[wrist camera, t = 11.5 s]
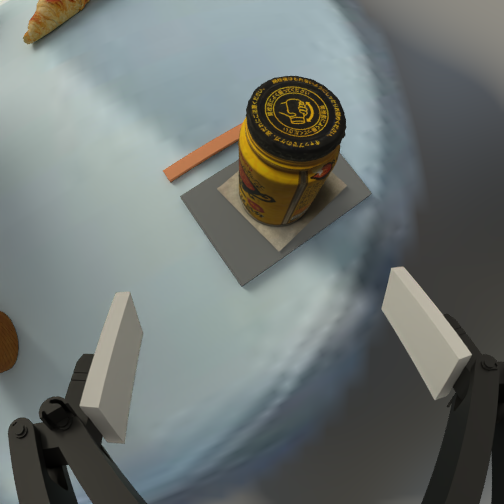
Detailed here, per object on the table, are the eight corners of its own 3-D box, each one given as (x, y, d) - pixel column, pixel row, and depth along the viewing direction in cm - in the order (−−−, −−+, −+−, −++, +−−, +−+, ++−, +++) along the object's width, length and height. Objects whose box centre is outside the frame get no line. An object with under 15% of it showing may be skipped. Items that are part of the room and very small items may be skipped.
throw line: (163, 172, 27) (162, 170, 27) (289, 100, 29) (289, 98, 29) (170, 182, 27) (169, 180, 27) (296, 108, 29) (297, 106, 29)
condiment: (216, 189, 27) (202, 104, 15) (287, 131, 28) (312, 36, 16) (278, 252, 26) (310, 203, 14) (346, 186, 27) (406, 111, 15)
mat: (181, 198, 27) (180, 196, 26) (308, 122, 29) (310, 119, 28) (241, 286, 26) (241, 285, 25) (369, 195, 28) (371, 193, 27)
